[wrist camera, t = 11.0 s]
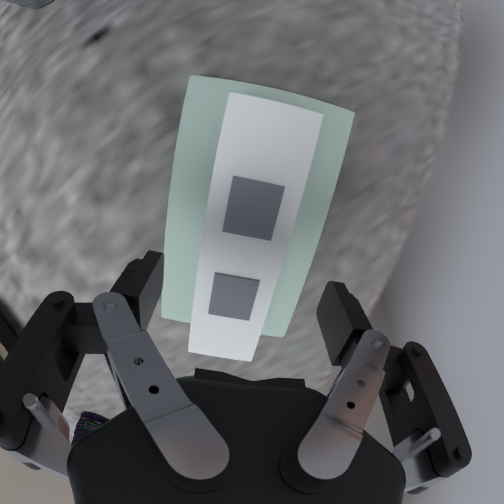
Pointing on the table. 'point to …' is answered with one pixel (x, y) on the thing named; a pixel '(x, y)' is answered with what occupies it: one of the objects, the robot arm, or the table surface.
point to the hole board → (198, 185)
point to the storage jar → (87, 424)
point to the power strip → (249, 221)
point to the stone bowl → (5, 340)
